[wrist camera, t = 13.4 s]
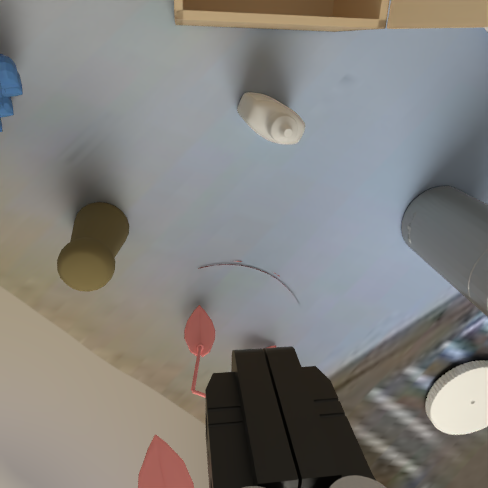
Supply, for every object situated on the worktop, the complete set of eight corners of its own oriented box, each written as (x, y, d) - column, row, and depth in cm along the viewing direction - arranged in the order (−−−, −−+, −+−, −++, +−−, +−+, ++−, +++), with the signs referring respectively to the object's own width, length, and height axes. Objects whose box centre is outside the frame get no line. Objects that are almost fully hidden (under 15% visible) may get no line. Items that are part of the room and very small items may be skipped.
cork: (90, 192, 47) (67, 231, 38) (139, 219, 50) (129, 264, 40) (64, 234, 49) (36, 282, 39) (112, 259, 51) (97, 311, 41)
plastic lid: (521, 366, 69) (533, 377, 67) (473, 428, 74) (482, 441, 72) (452, 347, 65) (462, 358, 63) (406, 414, 70) (413, 426, 68)
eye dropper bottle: (264, 76, 45) (291, 87, 34) (293, 120, 47) (327, 143, 36) (231, 103, 46) (247, 122, 35) (261, 145, 48) (285, 175, 37)
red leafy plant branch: (277, 396, 64) (379, 732, 32) (129, 312, 55) (68, 670, 23) (349, 324, 61) (541, 621, 29) (203, 221, 51) (253, 495, 20)
